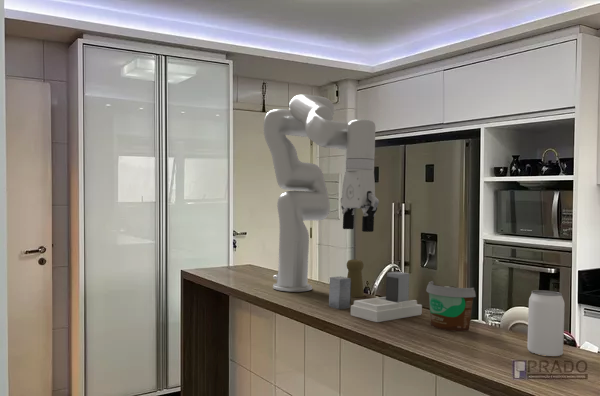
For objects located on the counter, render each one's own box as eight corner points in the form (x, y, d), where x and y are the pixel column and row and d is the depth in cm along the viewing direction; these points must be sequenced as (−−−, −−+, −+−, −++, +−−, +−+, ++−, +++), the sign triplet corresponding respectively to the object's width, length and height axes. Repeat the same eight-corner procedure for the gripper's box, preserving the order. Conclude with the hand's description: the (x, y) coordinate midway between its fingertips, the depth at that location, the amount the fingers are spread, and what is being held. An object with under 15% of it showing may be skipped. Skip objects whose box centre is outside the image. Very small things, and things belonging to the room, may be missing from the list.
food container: (414, 324, 127) (415, 282, 127) (430, 321, 131) (431, 280, 131) (459, 335, 118) (460, 290, 118) (474, 331, 122) (476, 287, 122)
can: (567, 353, 106) (569, 293, 106) (557, 359, 101) (559, 296, 101) (533, 346, 110) (535, 288, 110) (522, 352, 105) (524, 292, 105)
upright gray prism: (328, 306, 145) (329, 277, 145) (340, 305, 147) (341, 276, 147) (338, 309, 142) (339, 279, 142) (350, 307, 144) (352, 278, 144)
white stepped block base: (350, 315, 134) (351, 273, 135) (395, 308, 145) (396, 270, 145) (376, 322, 127) (378, 278, 128) (421, 314, 138) (423, 274, 138)
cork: (363, 297, 160) (364, 261, 160) (343, 296, 161) (344, 260, 161) (364, 294, 166) (365, 259, 166) (345, 293, 167) (346, 258, 167)
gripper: (331, 166, 148) (329, 228, 148) (365, 164, 133) (363, 232, 133) (354, 168, 152) (352, 228, 152) (390, 166, 136) (388, 232, 136)
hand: (357, 230), depth 142 cm, fingers open, 9 cm apart
